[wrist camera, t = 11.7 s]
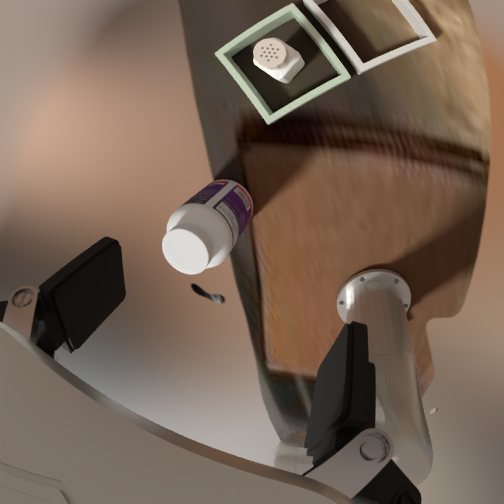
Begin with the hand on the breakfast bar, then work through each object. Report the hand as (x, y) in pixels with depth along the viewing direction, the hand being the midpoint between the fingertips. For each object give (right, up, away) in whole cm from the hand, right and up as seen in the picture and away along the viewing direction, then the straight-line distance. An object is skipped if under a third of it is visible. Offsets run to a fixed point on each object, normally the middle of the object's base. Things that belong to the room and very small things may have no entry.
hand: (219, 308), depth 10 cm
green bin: (+5, +25, +18) cm, 32 cm away
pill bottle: (-2, +9, +30) cm, 32 cm away
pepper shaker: (+5, +25, +18) cm, 32 cm away
